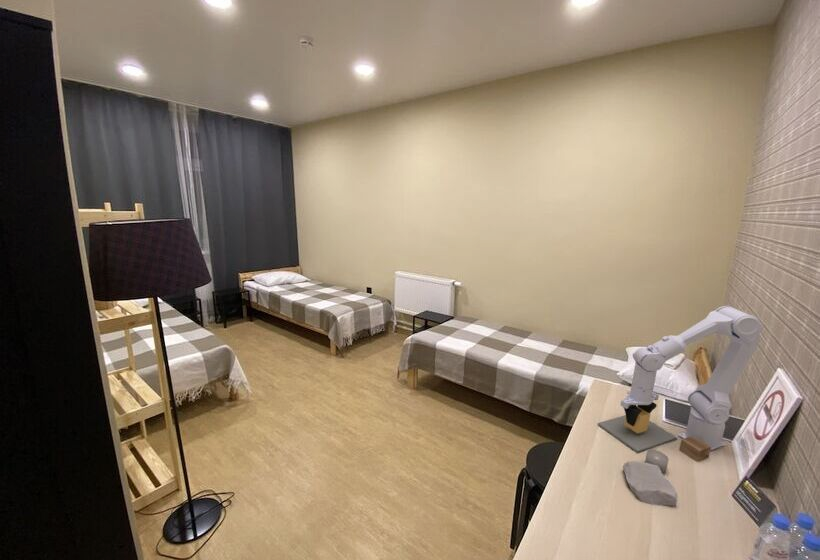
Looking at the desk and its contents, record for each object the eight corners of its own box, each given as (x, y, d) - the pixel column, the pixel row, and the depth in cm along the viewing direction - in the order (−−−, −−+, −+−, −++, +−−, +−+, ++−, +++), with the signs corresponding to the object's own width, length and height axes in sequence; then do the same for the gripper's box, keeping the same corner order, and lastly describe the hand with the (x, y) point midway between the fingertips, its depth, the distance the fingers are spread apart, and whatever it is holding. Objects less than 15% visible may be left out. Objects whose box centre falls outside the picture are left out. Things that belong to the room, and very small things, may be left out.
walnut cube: (690, 447, 104) (692, 435, 104) (708, 458, 100) (711, 446, 99) (678, 450, 103) (681, 439, 102) (696, 462, 98) (699, 450, 97)
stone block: (637, 509, 85) (681, 508, 83) (636, 492, 84) (680, 491, 82) (617, 474, 97) (655, 473, 95) (615, 459, 96) (654, 457, 94)
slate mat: (634, 414, 120) (635, 412, 120) (676, 439, 108) (677, 437, 107) (597, 425, 114) (597, 423, 114) (637, 453, 101) (637, 451, 101)
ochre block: (633, 421, 113) (636, 406, 111) (647, 430, 108) (650, 414, 107) (624, 424, 111) (627, 408, 110) (637, 433, 107) (640, 416, 106)
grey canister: (650, 458, 99) (653, 447, 98) (669, 470, 95) (672, 458, 94) (640, 464, 97) (643, 452, 96) (659, 476, 93) (662, 464, 92)
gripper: (646, 375, 113) (639, 410, 116) (614, 382, 108) (608, 419, 111) (668, 385, 106) (660, 423, 109) (635, 394, 101) (628, 433, 104)
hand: (635, 422), depth 110 cm, fingers closed on ochre block, 4 cm apart
